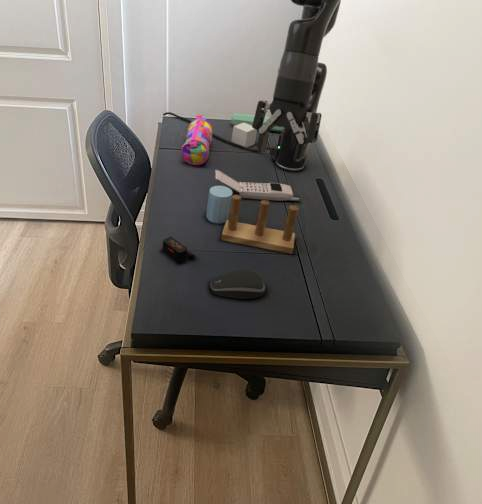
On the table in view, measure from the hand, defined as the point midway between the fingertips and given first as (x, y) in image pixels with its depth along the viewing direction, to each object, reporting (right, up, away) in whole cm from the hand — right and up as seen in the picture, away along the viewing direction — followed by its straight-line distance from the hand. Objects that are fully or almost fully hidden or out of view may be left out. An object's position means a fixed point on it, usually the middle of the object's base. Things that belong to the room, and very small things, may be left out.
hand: (278, 156), depth 106 cm
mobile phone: (-1, -4, +39) cm, 39 cm away
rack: (-2, -17, +20) cm, 26 cm away
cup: (-13, -11, +27) cm, 31 cm away
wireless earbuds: (-22, -22, +11) cm, 33 cm away
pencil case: (-19, +12, +58) cm, 62 cm away
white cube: (-3, +18, +68) cm, 70 cm away
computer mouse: (-9, -29, +3) cm, 30 cm away
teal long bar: (+6, +26, +81) cm, 85 cm away
